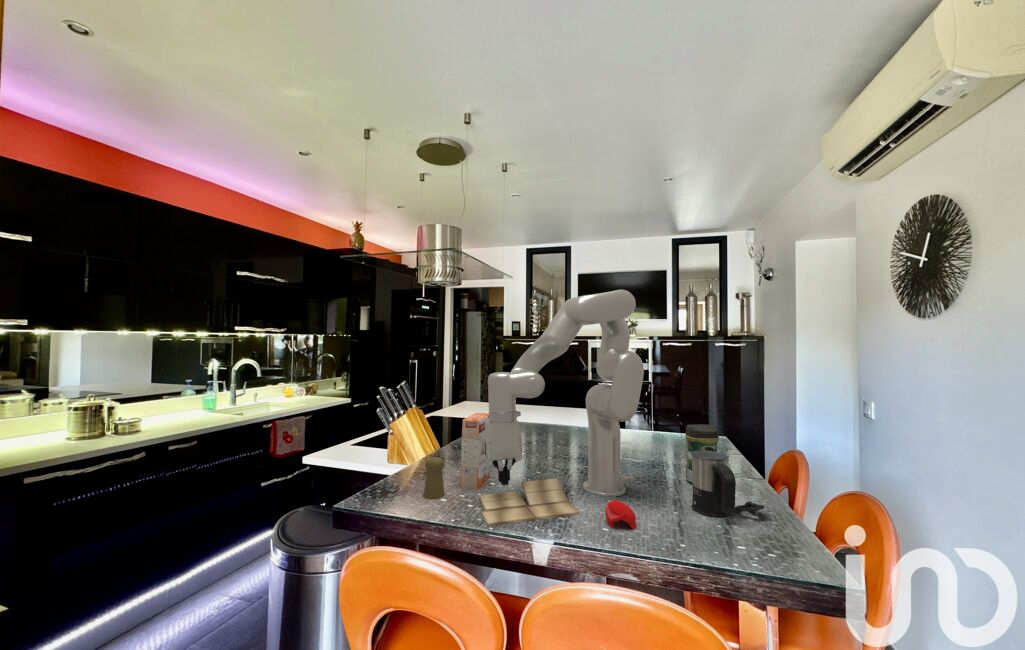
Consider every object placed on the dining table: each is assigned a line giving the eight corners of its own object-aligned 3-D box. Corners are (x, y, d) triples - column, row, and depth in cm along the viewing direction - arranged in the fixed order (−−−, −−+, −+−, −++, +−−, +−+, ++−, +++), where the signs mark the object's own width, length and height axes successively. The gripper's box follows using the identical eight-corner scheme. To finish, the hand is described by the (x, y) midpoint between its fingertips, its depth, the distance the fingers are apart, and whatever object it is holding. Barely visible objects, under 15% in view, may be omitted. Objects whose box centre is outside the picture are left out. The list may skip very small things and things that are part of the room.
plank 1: (516, 495, 114) (517, 491, 114) (526, 509, 107) (526, 504, 106) (479, 499, 111) (479, 495, 111) (485, 513, 103) (486, 509, 103)
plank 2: (556, 481, 117) (557, 478, 117) (567, 503, 110) (568, 500, 110) (521, 484, 114) (521, 481, 113) (529, 508, 107) (530, 504, 107)
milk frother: (683, 506, 110) (683, 451, 111) (724, 498, 116) (723, 446, 117) (729, 528, 97) (728, 466, 98) (772, 518, 103) (771, 459, 104)
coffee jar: (710, 478, 133) (710, 422, 134) (723, 487, 125) (723, 427, 126) (681, 478, 133) (681, 422, 134) (693, 487, 125) (692, 427, 126)
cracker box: (479, 492, 118) (480, 420, 119) (459, 490, 120) (460, 419, 120) (491, 476, 132) (492, 412, 133) (473, 475, 133) (474, 411, 134)
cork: (448, 495, 115) (449, 456, 116) (436, 502, 110) (437, 462, 110) (431, 491, 118) (432, 453, 118) (418, 499, 112) (419, 459, 113)
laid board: (567, 505, 109) (567, 500, 109) (579, 516, 102) (579, 511, 102) (481, 515, 102) (481, 510, 102) (488, 528, 95) (488, 522, 95)
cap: (599, 516, 95) (620, 507, 93) (602, 499, 101) (622, 490, 98) (619, 542, 96) (641, 534, 93) (621, 524, 101) (642, 516, 98)
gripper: (523, 412, 118) (525, 475, 117) (473, 417, 113) (474, 482, 112) (532, 417, 110) (534, 484, 110) (479, 422, 106) (481, 492, 105)
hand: (504, 483), depth 111 cm, fingers closed
